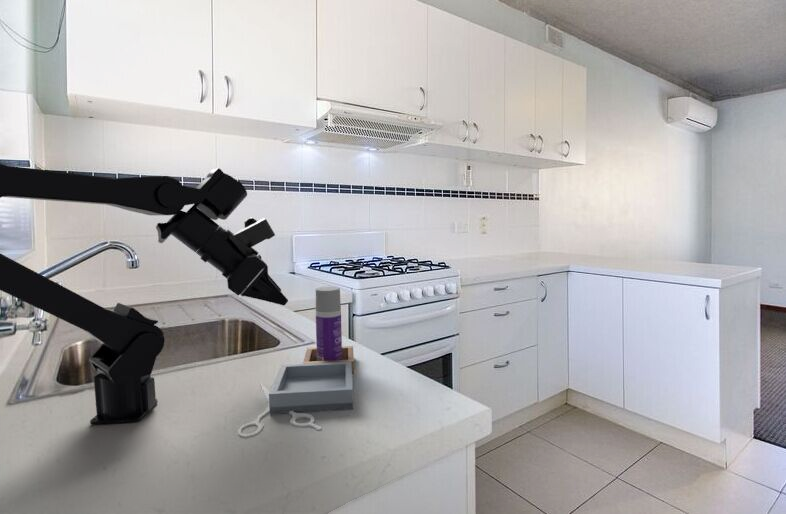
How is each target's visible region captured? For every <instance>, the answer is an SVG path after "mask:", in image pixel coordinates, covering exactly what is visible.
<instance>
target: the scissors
mask: <svg viewBox="0 0 786 514" xmlns="http://www.w3.org/2000/svg"><path fill="white" fill-rule="evenodd" d="M259 383H260V386H261V390H262V392H263V394H264V396H265V398H266V400H267V402H268V404H267V407H266V409H265V410H264V412H263V413H261V414H258V415H257V416H256V417H257V418H256V419H255V420H252V421H250V422H247V423H245V424H243V425H242V426H240V427H239V428H238V429H237V435H238V436H239V437H241V438H250V437H251V438H252V437H254V436H256V435H258V434H259V433H260V432H261V431H262V430H263V429H264V427H265V426H264V424H262V423H260V421H261V419H263V418H264V417H266V415H268V414H270V409H269V393H270V391H269V390H268V389H267V388H266V386H265V385H263V384H262V383H261V382H259ZM288 414H290V415H291V416H292V418H290V420H289V423H290V425H292V426H294V427H298V428H307V427H310V428H313V429H315V430H316V431H322V430H323V428H322V426H320V425H317V424H316V423H315V417H314V416H313V415H312V414H308V413H300V412H294V411H289V413H288ZM298 418H307V419H309V420H310V421H308V422H305V423H299V422H297V421H296V420H297V419H298ZM250 426H251V427H252V426H256V427H257V428H256V430H254V431H253V432H251V433H243V432H242V430H244V429H245V428H247V427H250Z"/></svg>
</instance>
